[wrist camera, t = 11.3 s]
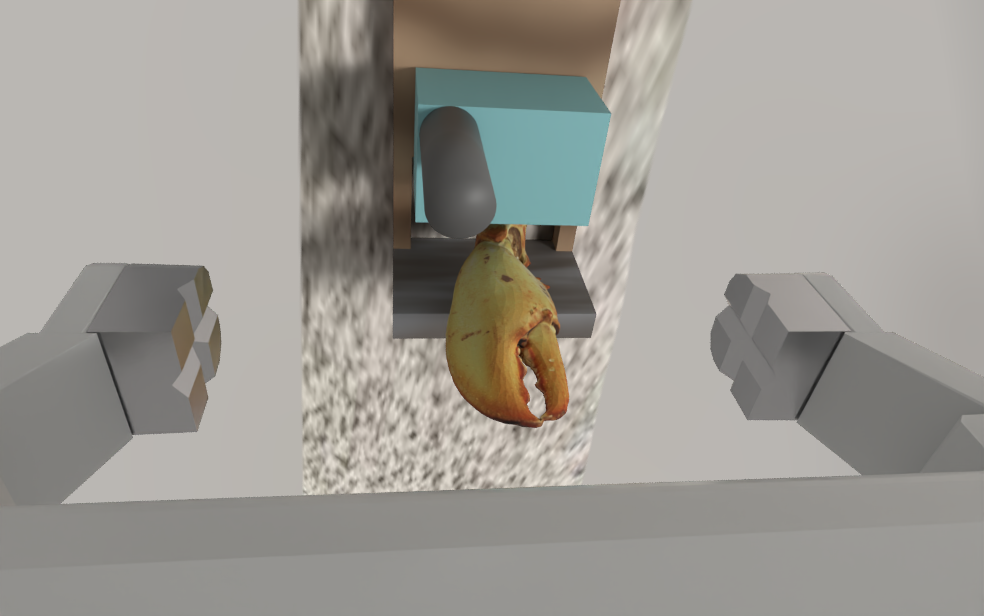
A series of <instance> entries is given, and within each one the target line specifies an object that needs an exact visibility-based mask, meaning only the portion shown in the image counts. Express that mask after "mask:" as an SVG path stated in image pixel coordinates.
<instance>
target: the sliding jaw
mask: <svg viewBox="0 0 984 616" xmlns="http://www.w3.org/2000/svg"><path fill="white" fill-rule="evenodd" d="M610 117H611V113H610V111H609V110H608V108H607V107H606V105H605V104H604V102H603V101H602V99H601V98H600V96H599V95H598V94H597V92H596V91H595V89H594V88H593V86H592V85H591V83H590V82H589V80H588V79H587V77H577V76H559V75H541V74H523V73H506V72H488V71H470V70H452V69H434V68H416V77H415V127H414V199H415V222H428V223H429V224H430V225H431V227H432V228H433V229H434V230H436V231H437V232H438V233H440V234H442V235H444V236H446V237H450V238H456V239H463V238H469V237H472V236H475V235H477V234H479V233H481V232H482V231H484V230H485V229H486V228H487V227H488V226H489V225H490V224H525V225H571V226H588V224H589V219H590V215H591V210H592V205H593V200H594V195H595V190H596V185H597V180H598V176H599V171H600V166H601V161H602V156H603V151H604V146H605V141H606V137H607V132H608V127H609V122H610Z"/></svg>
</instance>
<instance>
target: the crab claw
mask: <svg viewBox="0 0 984 616" xmlns="http://www.w3.org/2000/svg"><path fill="white" fill-rule="evenodd" d="M526 227H527V225H525V224H490V225H489V226H488V227H487V228H486V229H485V230H484V231H482V232H481V233H479V234H477V236H476V241H475V247H474V250H473V251H472V252H471V254H470V255H469V256H468V257H467V259H466V260H465V262H464V264H463V266H462V267H461V269H460V272H459V274H458V277H457V280H456V283H455V288H454V293H453V300H452V305H451V309H450V314H449V317H448V321H447V327H446V357H447V362H448V367H449V371H450V374H451V376H452V379H453V382H454V384H455V386H456V387H457V389H458V391H459V392H460V394H461V395H462V396H463V398H464V399H465V400H466V401H467V402H468V403H469V404H470V405H472V406H473V407H474V408H475V409H476V410H478V411H479V412H480V413H482V414H483V415H485V416H487V417H489V418H491V419H493V420H496V421H499V422H502V423H505V424H513V425H519V426H522V427H533V428H537V427H541V426H542V424H543V422H544V421H546V420H551V421H554V420H557V419H559V418H561V417H562V416H563V415H564V414H565V413H566V411H567V406H568V402H569V393H568V386H567V379H566V374H565V369H564V365H563V361H562V358H561V354H560V350H559V345H558V342H557V338H556V335H557V334H559V331H560V323H559V321H558V319H557V311H556V309H555V306H554V303H553V301H552V299H551V296H550V294H549V293H548V291H547V289H549V288H550V286H548V285H545V284H543V283H542V282H540V280H541V278H539V277H535V276H534V275H533V274H532V273H531V272H530V271H529V270H528V269H527V267H528V266H529V265H530V264H531V263H530V261H529V258H528V256H527V254H526V251H525V235H526ZM518 355H519V356H520V357H519V356H518ZM522 361H523V363H524V364H525V365H526V366H529V367H531V369H532V370H533V372H534V374H535V375H536V378H537V382H536V384H535V386H536V388H538V389H539V390H540V391H541V392H542V393H543V394H544V395H543V396H544V398H545V404H546V412H545V413H544V414H543V415H542V416H541V417H540V419H539V418H537V417H536V416H534V415H533V414H532V413H531V412H530V410H529V408H528V405H527V403H528V402H529V401H530V395H529V393H528V390H527V389H526V387H525V386H524V382H523V378H524V377H525V375H526V373H527V368H526V366H525V365H524V364H523V363H522Z"/></svg>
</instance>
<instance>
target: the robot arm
mask: <svg viewBox="0 0 984 616" xmlns="http://www.w3.org/2000/svg"><path fill="white" fill-rule="evenodd" d="M212 292H213V289H212V285H211V281H210V276H209V272H208V271H207V270H206V269H205V267H204V266H190V265H160V264H127V263H93V264H90V265H86V266H85V268H84V269H83V270H82V272H81V273H80V275H79V276H78V278H77V279H76V280H75V282H74V283H73V285H72V286H71V288H70V289H69V291H68V292H67V294H66V295H65V297H64V298H63V299H62V301H61V303H60V304H59V305H58V307H57V308H56V310H55V311H54V313H53V314H52V315H51V317H50V318H49V320H48V321H47V323H46V324H45V326H44V327H43V329H42V330H41V332H40V333H27V334H25V335H23V336H21V337H19V338H17V339H15V340H13V341H11V342H9V343H7V344H5V345H3V346H2V347H0V616H984V377H983V376H981V375H979V374H977V373H975V372H973V371H971V370H969V369H967V368H965V367H963V366H961V365H958V364H956V363H955V362H953V361H950V360H948V359H946V358H944V357H942V356H940V355H938V354H936V353H934V352H932V351H930V350H928V349H926V348H924V347H922V346H920V345H918V344H916V343H914V342H912V341H910V340H908V339H906V338H904V337H901V336H900V335H898V334H896V333H893V332H884V331H883V330H882V329H881V328H880V327H879V326H878V325H877V324H876V322H875V321H874V320H873V319H872V318H871V317H870V316H869V315H868V314H867V313H866V312H865V311H864V310H863V308H862V307H861V306H860V305H859V304H858V303H857V302H856V301H855V300H854V299H853V298H852V297H851V296H850V295H849V293H848V292H847V291H846V290H845V289H844V288H843V287H842V286H841V285H840V284H839V283H838V282H837V281H836V280H835V278H834V277H833V276H831V275H829V274H826V273H824V272H815V273H791V274H790V273H786V274H785V273H784V274H735V276H734V277H733V278H732V279H731V280H730V282H729V284H728V287H727V289H726V291H725V294H724V295H725V297H726V299H727V302H728V304H729V306H728V307H727V308H725V309H724V310H723V311H722V312H721V313H720V314H718V315H717V316H716V318H715V321H714V324H713V327H712V330H711V352H712V356H713V360H714V362H715V364H716V366H717V367H718V369H719V371H720V372H722V373H723V374H725V375H726V376H728V377H729V378H731V379H732V380H734V382H733V384H732V387H731V392H732V394H733V396H734V398H735V399H736V401H737V403H738V404H739V406H740V408H741V409H742V411H743V413H744V415H745V417H746V418H747V420H798V421H797V423H798V424H799V425H800V426H802V427H803V428H804V429H805V430H807V431H808V432H809V433H810V434H812V435H813V436H814V437H815V438H817V439H818V440H819V441H820V442H821V443H823V444H824V445H825V446H826V447H828V448H829V449H830V450H832V451H833V452H834V453H835V454H837V455H838V456H839V457H840V458H841V459H843V460H844V461H845V462H846V463H848V464H849V465H850V466H851V467H853V468H854V469H855V470H856V471H858V472H859V473H860V474H861V476H832V477H803V478H777V479H776V478H774V479H747V480H746V479H744V480H717V481H689V482H659V483H658V482H657V483H629V484H601V485H574V486H547V487H521V488H494V489H467V490H440V491H413V492H385V493H357V494H329V495H301V496H273V497H245V498H217V499H189V500H161V501H133V502H108V503H107V502H105V503H77V504H61V503H62V502H63V501H64V500H65V499H66V498H67V497H68V496H69V495H70V494H71V493H73V492H74V491H75V490H76V489H77V488H78V487H79V486H80V485H81V484H83V483H84V482H85V481H86V480H87V479H88V478H89V477H90V476H91V475H93V474H94V473H95V472H96V471H97V470H98V469H99V468H100V467H101V466H102V465H104V464H105V463H106V462H107V461H108V460H109V459H110V458H111V457H112V456H114V454H116V453H117V452H118V451H119V450H120V449H121V448H122V447H123V446H125V445H126V444H127V443H128V442H129V441H130V440H131V439H132V438H133V436H132V435H139V434H140V435H141V434H161V433H183V432H197V431H198V428H199V425H200V422H201V419H202V415H203V412H204V409H205V406H206V403H207V400H208V395H207V390H206V385H205V383H206V382H208V381H209V380H211V379H212V378H213V377H215V375H216V372H217V368H218V365H219V361H220V351H221V331H220V324H219V319H218V315H217V314H216V313H215V312H214V311H213V310H212V309H210V308H209V307H208V306H207V305H208V302H209V299H210V297H211V294H212Z"/></svg>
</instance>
